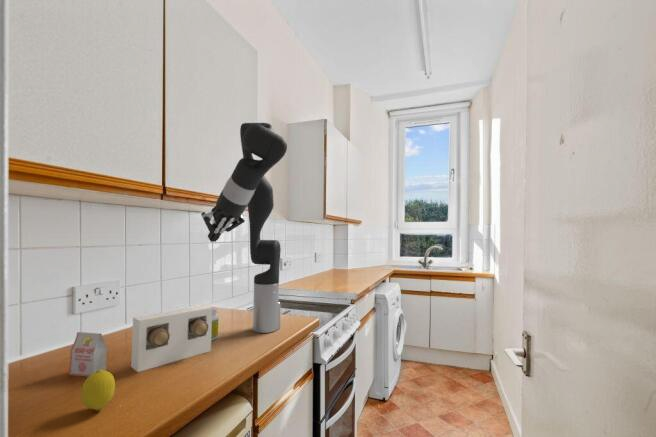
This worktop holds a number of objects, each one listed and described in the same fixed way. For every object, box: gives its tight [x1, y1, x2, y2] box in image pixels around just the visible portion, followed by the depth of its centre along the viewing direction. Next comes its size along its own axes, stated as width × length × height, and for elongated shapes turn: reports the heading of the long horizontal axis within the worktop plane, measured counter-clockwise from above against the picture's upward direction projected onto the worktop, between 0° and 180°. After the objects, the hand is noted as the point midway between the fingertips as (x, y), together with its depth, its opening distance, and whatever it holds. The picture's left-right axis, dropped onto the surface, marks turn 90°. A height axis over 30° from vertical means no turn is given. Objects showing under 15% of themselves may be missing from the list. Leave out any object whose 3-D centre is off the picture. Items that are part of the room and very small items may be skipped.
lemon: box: [80, 369, 116, 412], centre depth 64 cm, size 6×6×8 cm
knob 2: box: [188, 319, 208, 337], centre depth 93 cm, size 4×6×4 cm
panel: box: [130, 304, 213, 373], centre depth 90 cm, size 20×5×13 cm, turn 139°
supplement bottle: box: [211, 307, 219, 341], centre depth 107 cm, size 5×5×10 cm
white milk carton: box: [68, 331, 108, 378], centre depth 80 cm, size 4×7×10 cm, turn 81°
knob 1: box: [148, 327, 170, 347], centre depth 85 cm, size 4×6×4 cm
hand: (211, 239), depth 92 cm, fingers closed
